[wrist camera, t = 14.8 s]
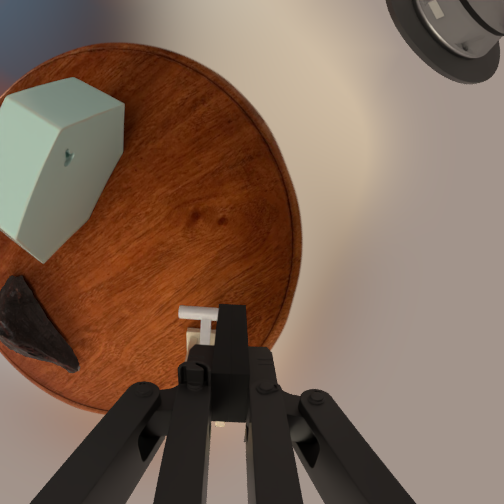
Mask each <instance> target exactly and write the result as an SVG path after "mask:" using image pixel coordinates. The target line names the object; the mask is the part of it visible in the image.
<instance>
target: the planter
mask: <svg viewBox="0 0 504 504" xmlns="http://www.w3.org/2000/svg"><path fill="white" fill-rule="evenodd" d="M124 110H125V104H124V103H122V102H120V101H119V100H117V99H115V98H113V97H111V96H109V95H107V94H105V93H104V92H102V91H100V90H98V89H96V88H94V87H92V86H90V85H88V84H86V83H84V82H82V81H80V80H78V79H77V78H74V77H71V78H67V79H63V80H59V81H54V82H51V83H47V84H43V85H39V86H36V87H32V88H29V89H26V90H22V91H19V92H16V93H13V94H10V95H7V96H6V97H5V99H4V101H3V103H2V105H1V108H0V231H2V232H3V233H4V234H5V235H6V236H8V237H9V238H10V239H11V240H13V241H14V242H15V243H16V244H18V245H19V246H20V247H21V248H23V249H24V250H25V251H27V252H28V253H29V254H31V255H32V256H33V257H34V258H36V259H37V260H38V261H40V262H41V263H43V264H44V263H45V262H46V261H47V260H48V259H49V258H50V257H51V256H52V255H53V254H54V253H55V252H56V251H57V250H58V249H59V248H60V247H61V246H62V245H63V244H64V243H65V242H66V241H67V240H68V239H69V238H70V237H71V236H72V235H73V234H74V233H75V232H76V231H77V230H78V229H79V228H80V227H81V226H82V225H83V224H85V223H86V222H87V221H88V219H89V218H90V216H91V213H92V211H93V209H94V207H95V205H96V203H97V201H98V199H99V197H100V195H101V193H102V191H103V189H104V187H105V185H106V183H107V181H108V179H109V177H110V175H111V174H112V172H113V170H114V168H115V166H116V164H117V162H118V161H119V159H120V157H121V155H122V154H123V138H124Z"/></svg>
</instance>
